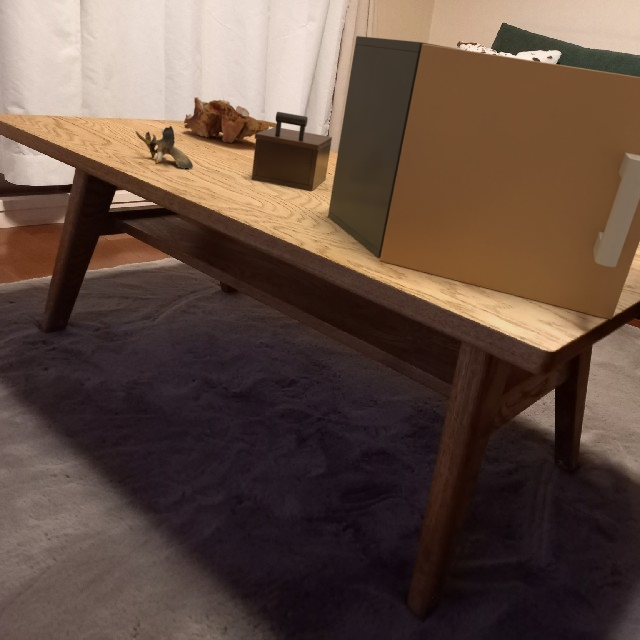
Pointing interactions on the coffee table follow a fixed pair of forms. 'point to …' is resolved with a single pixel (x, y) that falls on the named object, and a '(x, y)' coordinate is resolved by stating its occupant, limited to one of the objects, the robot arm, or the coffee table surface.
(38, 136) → the coffee table surface
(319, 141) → the walnut lid
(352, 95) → the cupboard
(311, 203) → the coffee table surface
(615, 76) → the cupboard door
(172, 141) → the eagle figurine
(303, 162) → the walnut box
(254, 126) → the mineral formation
